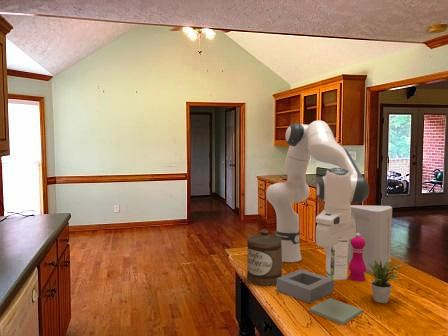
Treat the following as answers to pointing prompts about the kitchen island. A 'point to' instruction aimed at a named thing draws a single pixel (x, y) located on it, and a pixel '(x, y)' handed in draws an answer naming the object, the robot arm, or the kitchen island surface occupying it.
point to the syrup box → (338, 260)
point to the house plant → (382, 280)
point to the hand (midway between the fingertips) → (336, 254)
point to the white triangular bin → (373, 233)
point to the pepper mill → (357, 259)
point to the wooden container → (264, 259)
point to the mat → (336, 311)
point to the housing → (305, 285)
